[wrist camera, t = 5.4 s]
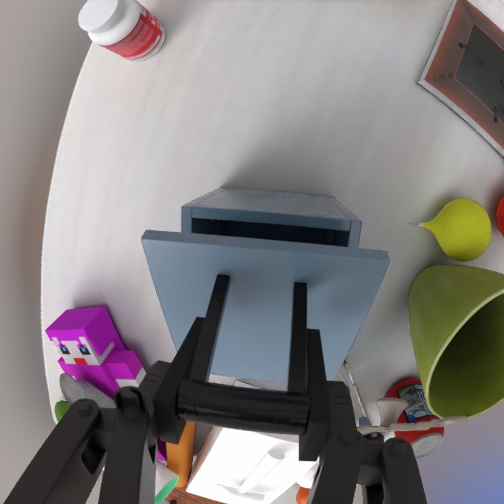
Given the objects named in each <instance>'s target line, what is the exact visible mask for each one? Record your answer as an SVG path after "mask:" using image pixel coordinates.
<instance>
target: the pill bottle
mask: <svg viewBox="0 0 504 504" xmlns="http://www.w3.org/2000/svg"><path fill="white" fill-rule="evenodd" d="M78 22H79V25H80V27H81V28H82V29H84V30H86V31H87V32H88V35H89V37H90V39H91V40H92V41H93V42H95V43H96V44H98V45H100V46H102V47H105V48H107V49H109V50H111V51H113V52H115V53H117V54H119V55H121V56H122V57H124V58H126V59H128V60H131V61H143V60H146V59H148V58H150V57H152V56H153V55H154V54H155V53H157V52H158V50H159V49H160V48H161V46H162V45H163V43H164V40H165V36H166V33H165V28H164V26H163V25H162V23H161V22H160V21H159V20H158V19H157V18H155V17H154V16H153V15H152V14H151V13H150V12H149V11H148V10H147V9H145V8H144V7H143V6H142V5H141V4H140V3H139V2H138V1H136V0H88V1H87V2H86V4H85V5H84V6H83V8H82V10H81V11H80V14H79V19H78Z"/></svg>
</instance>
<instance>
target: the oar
mask: <svg viewBox="0 0 504 504" xmlns="http://www.w3.org/2000/svg"><path fill="white" fill-rule="evenodd" d="M344 363H345V366H346V368H347V371H348V374H349V377H350V379H351V382H352V385H353V387H354V390H355V393H356V396H357V398H358V401H359V404H360V407H361V409H362V412H363V415H364V417H363V418H360V419H359V426H366V425H368V426H371V424H370V422H369V420H368V418H367V417H366V414H365V411H364V408H363V405H362V402H361V400H360V397H359V394H358V391H357V388H356V386H355V382H354V380H353V377H352V375H351V372H350V370H349V367H348V364H347V362H346V360H344Z"/></svg>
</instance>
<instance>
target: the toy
mask: <svg viewBox="0 0 504 504" xmlns="http://www.w3.org/2000/svg"><path fill="white" fill-rule="evenodd" d="M45 331H46V333H47V335H48V337H49V339H50V341H53V342H54V343H55V345H56V347H57V349H58V351H59V352H60V354H61V356H62V357H61V358H60V359H59V360H58V363H59V364H60V366H61V368H62V369H63V371H64V372H65V373H69V374H71V375H72V377H73V378H74V379H76V380H84V381H87V382H89V383H91V384H92V385H94V386H95V387H96V388H97V389H98V390H100V391H101V392H103V393H104V394H105V395H107V396H108V397H109V398H111V399H112V400H113V401H114V398H113V394H114V392H115V391H116V390H118V389H119V388H121V387H124V386H135V387H138V386H139V385H140V383H141V381H142V380H143V378H144V376H145V375H146V372H145V370H144V368H143V366H142V365H141V363H140V361H139V359H138V357H137V355H136V353H135V351H134V350H127V351H126V349H125V347H124V345H123V343H122V341H121V339H120V337H119V335H118V333H117V331H116V329H115V327H114V325H113V322H112V320H111V318H110V316H109V314H108V312H107V309H106V307H105V306H99V307H90V308H81V309H71V310H66V311H65V312H64V313H63V314H62V315H61V316H60V317H58V318H57V319H56V320H55V321H54V322H53V323H52V324H51V325H50V326H49V327H48V328H47V329H46V330H45ZM114 402H115V401H114ZM156 442H157V447H158V451H157V460H163V461H167V450H166V442H164V441H161V437H160V435H159V437H158V439H157V441H156Z"/></svg>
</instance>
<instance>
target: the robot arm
mask: <svg viewBox="0 0 504 504" xmlns="http://www.w3.org/2000/svg"><path fill="white" fill-rule="evenodd" d="M204 319H205V318H204V317H196V319H195V320H194V322H193V324H192V326H191V328H190V330H189V332H188V333H187V335H186V337H185V339H184V341H183V343H182V345H181V346H180V348H179V350H178V352H177V354H176V356H175V358H174V359H173V361H172V363H169V362H164V361H157V362H156V363H154V364H153V365H152V366H151V367H150V368H149V370H148V371H147V374H146V375H145V376H144V378H143V380H142V381H141V383H140V385H139V386H138V387H135V386H124V387H121V388H119V389H118V390H116V391H115V392H114V394H113V398H114V401H115V405H116V408H102V407H99V405H98V404H97V402H96V401H94V400H92V399H88V398H83V399H79V400H77V401H75V402H74V403H73V404H72V405H71V406H70V408H69V409H68V410H67V412H66V413H65V414H64V416H63V417H62V418H61V420H60V421H59V423H58V424H57V425H56V427H55V428H54V430H53V431H52V432H51V434H50V435H49V437H48V438H47V439H46V441H45V442H44V444H43V445H42V447H41V448H40V449H39V451H38V452H37V454H36V455H35V457H34V458H33V460H32V461H31V462H30V464H29V465H28V467H27V468H26V470H25V472H24V473H23V474H22V476H21V477H20V479H19V481H18V482H17V483H16V485H15V487H14V488H13V490H12V491H11V493H10V494H9V496H8V497H7V499H6V500H5V502H4V504H85V503H86V501H87V499H88V497H89V495H90V493H91V491H92V489H93V487H94V485H95V483H96V481H97V479H98V477H99V475H100V473H101V471H102V469H103V468H104V473H103V478H102V484H101V490H100V495H99V502H98V504H155V483H156V465H157V451H158V447H157V442H156V441H157V439H158V437H159V435H160V437H161V441H164V442H168V443H172V444H176V445H178V444H179V441H180V439H181V436H182V433H183V431H184V428H185V425H186V423H187V421H183V420H179V419H178V418H177V415H176V398H177V393H178V389H179V387H180V384H181V382H182V381H183V380H184V379H189V375H190V372H191V368H192V364H193V360H194V356H195V353H196V349H197V345H198V341H199V338H200V334H201V330H202V327H203V323H204ZM305 393H308V394H309V397H310V414H309V421H308V426H307V430H306V432H305V434H304V435H299V461H315V462H316V461H317V459H318V457H319V466H318V468H317V470H316V472H315V475H314V477H313V478H314V480H313V483H312V486H311V489H310V492H309V495H308V498H307V501H306V504H352V503H353V498H354V493H355V489H356V484H360V485H362V495H363V504H427V501H426V497H425V493H424V488H423V485H422V481H421V477H420V473H419V469H418V465H417V462H416V458H415V455H414V451H413V448H412V446H411V444H410V443H409V442H408V441H407V440H405V439H402V438H396V437H394V438H390V439H388V440H387V441H385V443H379V442H374V441H371V440H368V439H366V438H364V437H363V436H362V434H361V433H360V432H359V431H358V430H357V427H356V422H355V416H354V411H353V406H352V401H351V396H350V391H349V388H348V387H347V385H346V384H345V383H344V381H327V379H326V371H325V364H324V357H323V350H322V343H321V336H320V329H308V328H307V348H306V378H305ZM104 466H105V467H104Z"/></svg>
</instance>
